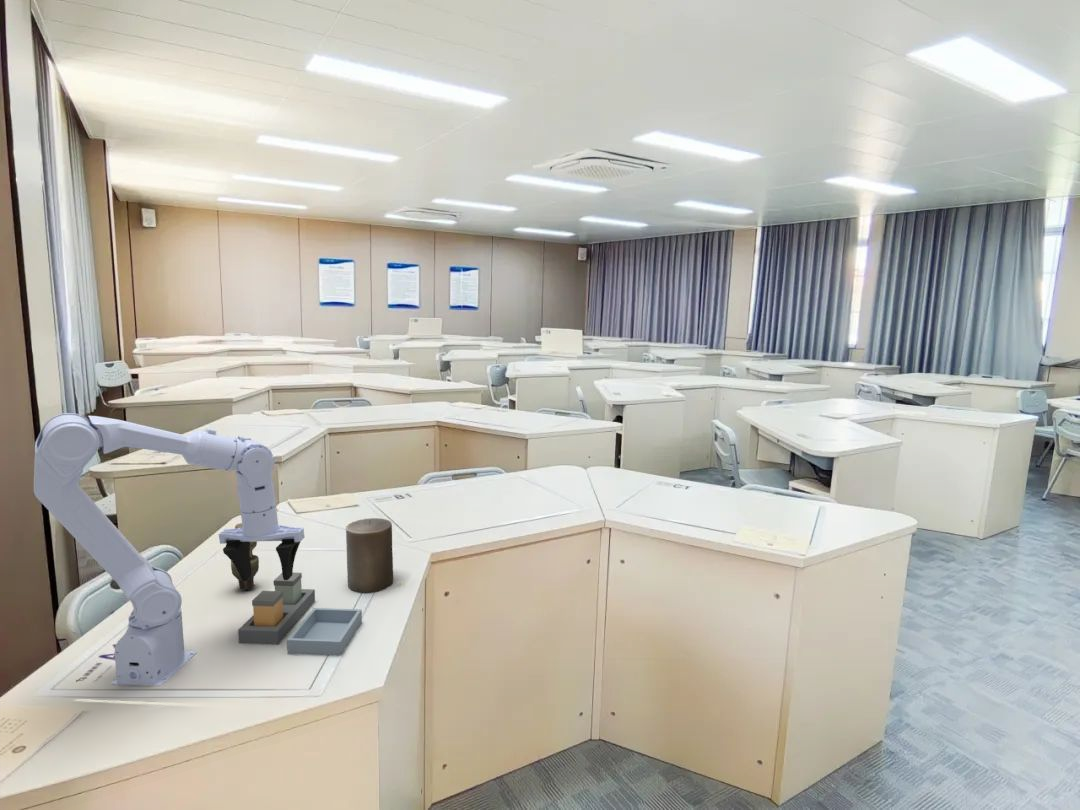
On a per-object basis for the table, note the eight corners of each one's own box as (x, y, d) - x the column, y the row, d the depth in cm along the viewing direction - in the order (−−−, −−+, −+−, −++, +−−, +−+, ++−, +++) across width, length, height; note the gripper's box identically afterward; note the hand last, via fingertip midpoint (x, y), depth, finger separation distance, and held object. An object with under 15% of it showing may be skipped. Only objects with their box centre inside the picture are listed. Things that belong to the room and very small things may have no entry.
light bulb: (247, 599, 119) (244, 529, 117) (224, 596, 120) (220, 526, 118) (265, 587, 125) (262, 520, 123) (243, 584, 126) (239, 517, 124)
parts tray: (340, 658, 100) (340, 641, 99) (287, 656, 100) (286, 639, 99) (362, 624, 111) (361, 609, 110) (314, 622, 111) (313, 607, 111)
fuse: (294, 615, 112) (293, 581, 111) (275, 614, 113) (273, 580, 112) (302, 605, 116) (301, 572, 115) (284, 605, 116) (282, 572, 115)
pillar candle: (401, 586, 127) (400, 520, 125) (359, 599, 120) (358, 530, 118) (379, 572, 134) (378, 509, 132) (339, 584, 127) (337, 518, 125)
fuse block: (278, 647, 103) (277, 631, 102) (239, 645, 103) (238, 629, 102) (315, 603, 118) (314, 589, 118) (281, 602, 118) (280, 588, 118)
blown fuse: (274, 637, 105) (273, 601, 104) (253, 636, 105) (252, 600, 104) (284, 626, 108) (282, 591, 107) (264, 625, 108) (262, 590, 107)
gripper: (307, 498, 107) (315, 567, 109) (230, 500, 107) (239, 568, 110) (290, 513, 100) (299, 585, 102) (208, 514, 100) (218, 587, 103)
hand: (267, 578), depth 106 cm, fingers open, 7 cm apart
